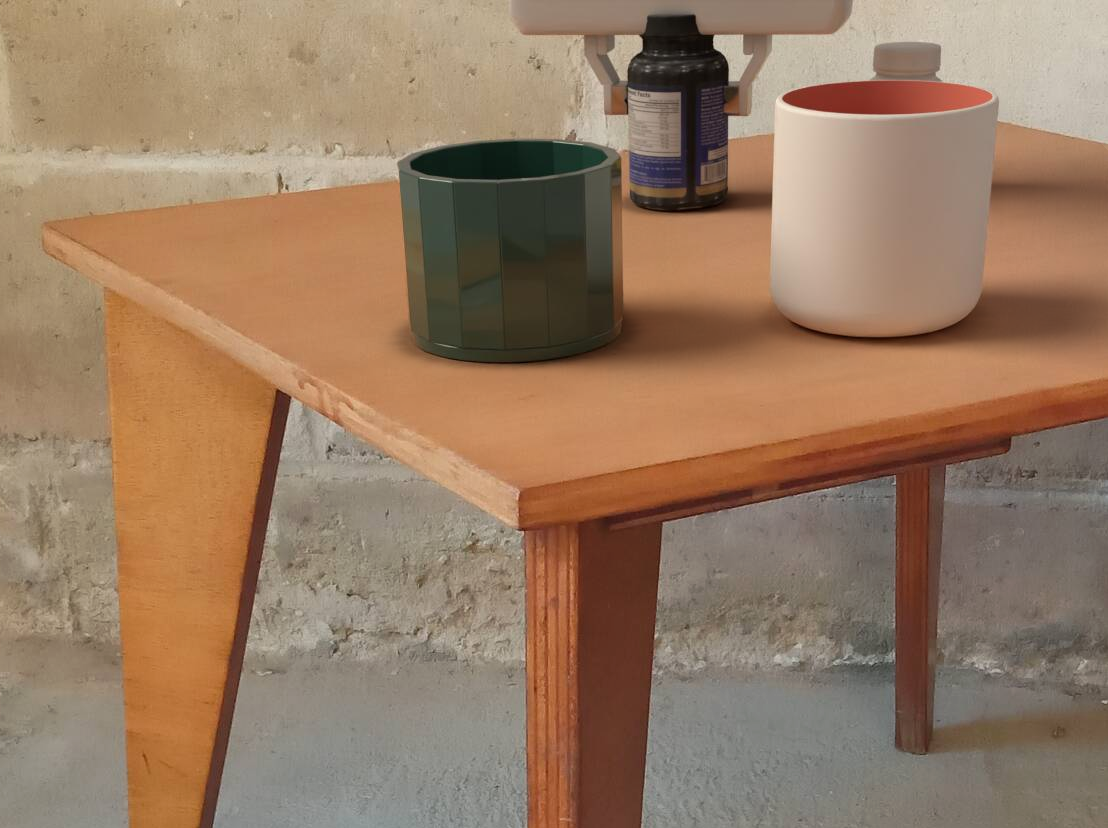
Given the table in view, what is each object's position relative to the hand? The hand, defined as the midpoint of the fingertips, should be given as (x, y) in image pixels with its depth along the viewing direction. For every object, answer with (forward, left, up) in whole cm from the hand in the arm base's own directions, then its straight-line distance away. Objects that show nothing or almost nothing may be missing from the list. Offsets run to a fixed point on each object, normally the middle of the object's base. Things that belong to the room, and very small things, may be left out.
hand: (678, 114), depth 103 cm
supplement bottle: (-13, -5, -5) cm, 15 cm away
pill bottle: (0, 0, -5) cm, 5 cm away
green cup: (+2, +29, -5) cm, 30 cm away
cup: (-15, +24, -5) cm, 28 cm away
